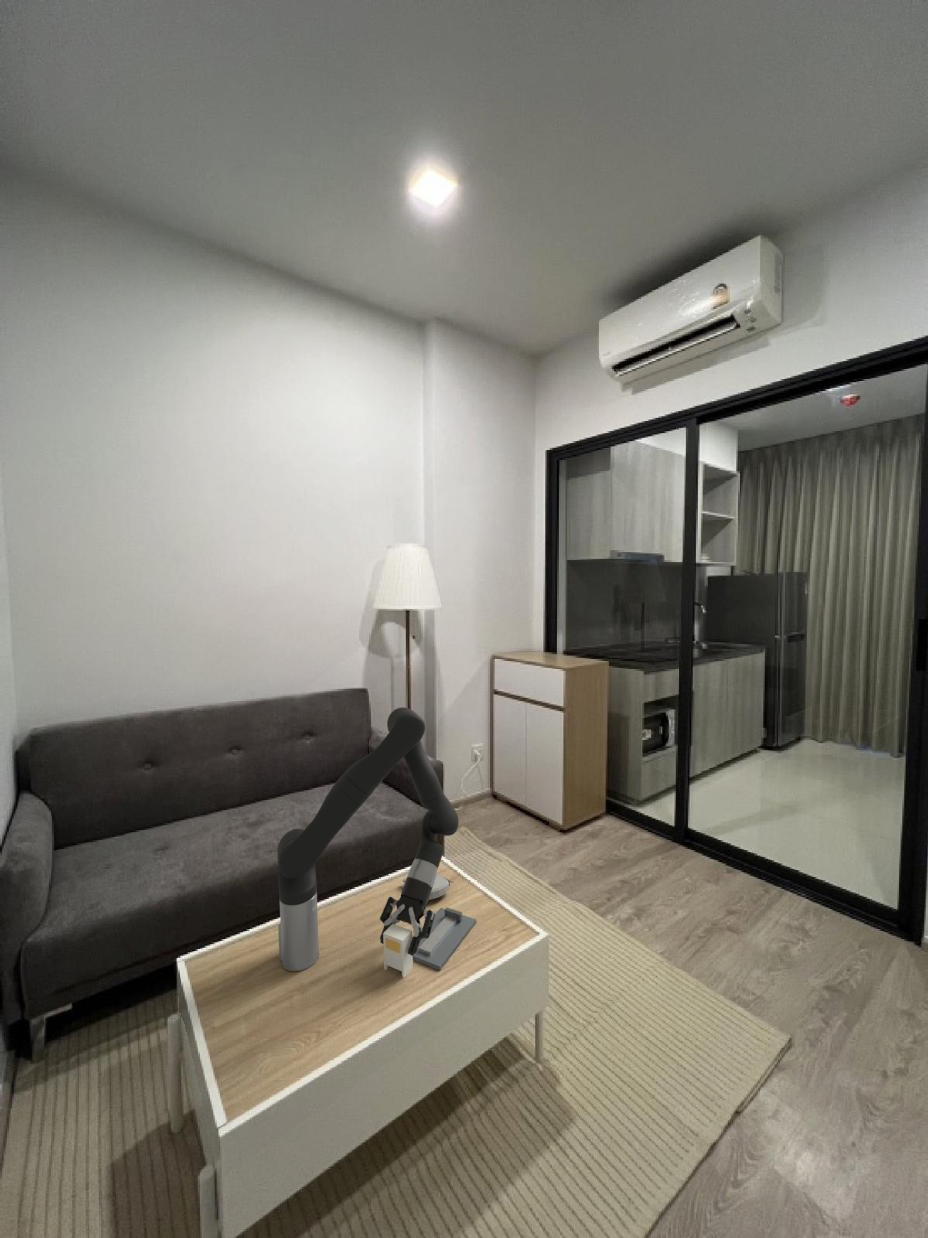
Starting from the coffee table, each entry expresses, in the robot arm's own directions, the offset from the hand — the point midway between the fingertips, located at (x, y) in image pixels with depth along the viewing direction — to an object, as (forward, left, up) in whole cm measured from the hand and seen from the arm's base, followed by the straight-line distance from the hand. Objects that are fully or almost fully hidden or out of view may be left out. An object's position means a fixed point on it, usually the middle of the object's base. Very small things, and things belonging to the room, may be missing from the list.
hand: (396, 949), depth 122 cm
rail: (+4, +15, -5) cm, 16 cm away
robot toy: (-11, +32, -6) cm, 34 cm away
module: (0, +1, -5) cm, 5 cm away
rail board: (+4, +15, -5) cm, 16 cm away
